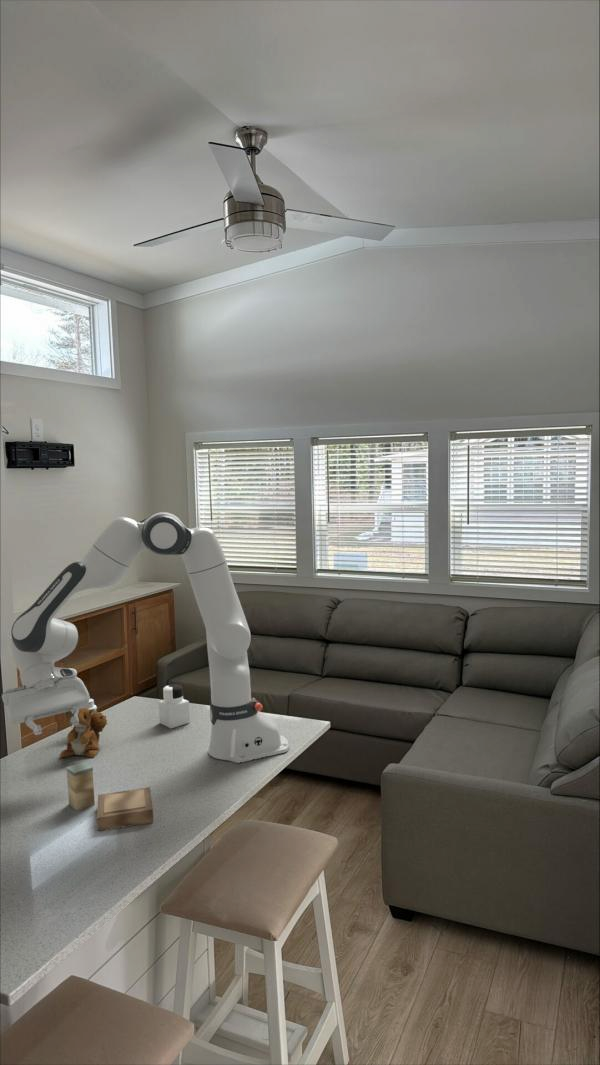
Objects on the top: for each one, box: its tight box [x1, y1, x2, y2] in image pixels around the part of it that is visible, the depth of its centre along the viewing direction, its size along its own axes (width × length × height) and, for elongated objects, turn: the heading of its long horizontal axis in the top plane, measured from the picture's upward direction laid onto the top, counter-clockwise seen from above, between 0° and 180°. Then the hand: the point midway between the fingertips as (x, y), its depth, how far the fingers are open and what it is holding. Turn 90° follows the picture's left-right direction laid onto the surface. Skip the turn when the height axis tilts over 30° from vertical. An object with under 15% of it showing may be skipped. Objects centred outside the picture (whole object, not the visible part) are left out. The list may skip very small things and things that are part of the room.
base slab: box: [96, 786, 154, 832], centre depth 163 cm, size 12×12×3 cm
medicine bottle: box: [158, 683, 191, 729], centre depth 222 cm, size 7×7×12 cm
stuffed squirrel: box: [59, 708, 108, 759], centre depth 203 cm, size 10×14×13 cm
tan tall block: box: [65, 761, 96, 812], centre depth 169 cm, size 5×5×9 cm
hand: (57, 728), depth 177 cm, fingers open, 8 cm apart
